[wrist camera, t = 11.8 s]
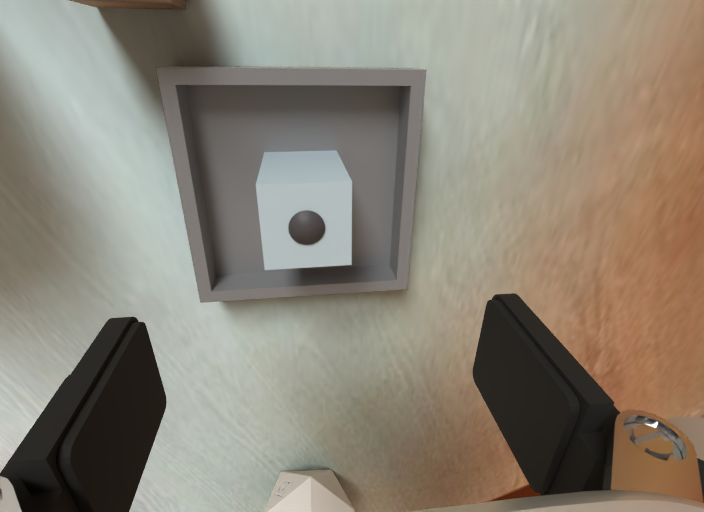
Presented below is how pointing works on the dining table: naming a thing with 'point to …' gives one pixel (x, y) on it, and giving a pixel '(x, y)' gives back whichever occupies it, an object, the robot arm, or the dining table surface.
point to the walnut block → (136, 4)
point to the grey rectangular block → (304, 210)
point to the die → (308, 493)
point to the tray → (288, 136)
